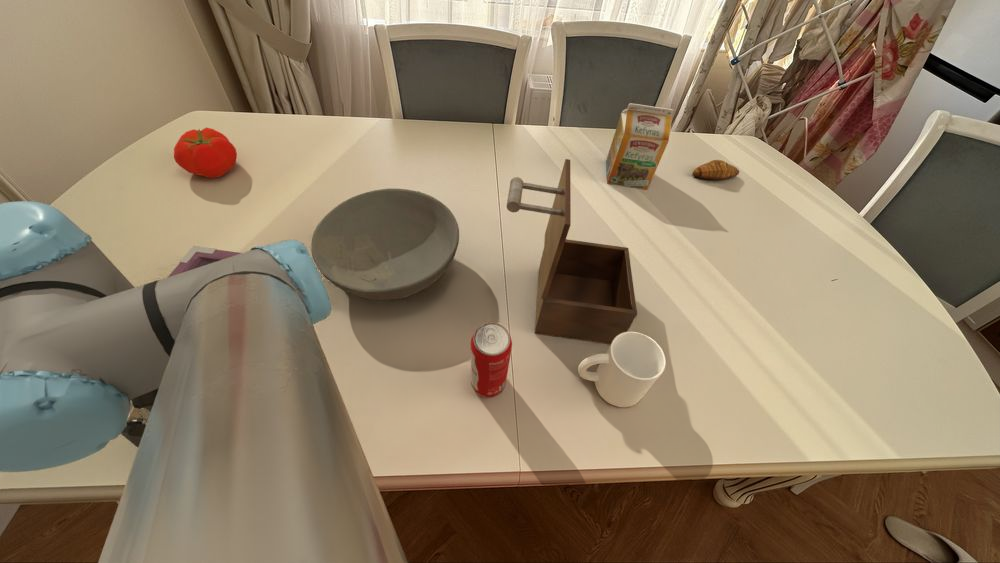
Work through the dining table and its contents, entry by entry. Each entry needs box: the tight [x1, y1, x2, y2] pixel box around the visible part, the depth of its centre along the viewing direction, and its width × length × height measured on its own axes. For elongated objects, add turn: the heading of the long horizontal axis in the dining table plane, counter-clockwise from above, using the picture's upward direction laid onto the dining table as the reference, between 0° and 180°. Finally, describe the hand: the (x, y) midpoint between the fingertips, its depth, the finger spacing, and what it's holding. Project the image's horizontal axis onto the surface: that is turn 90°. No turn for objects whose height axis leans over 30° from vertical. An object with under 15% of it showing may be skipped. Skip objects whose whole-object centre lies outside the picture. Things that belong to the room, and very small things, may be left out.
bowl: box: [310, 188, 460, 301], centre depth 78 cm, size 26×26×10 cm
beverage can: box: [470, 322, 513, 398], centre depth 61 cm, size 6×6×15 cm
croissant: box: [692, 159, 740, 181], centre depth 111 cm, size 14×7×5 cm, turn 98°
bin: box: [534, 238, 638, 345], centre depth 75 cm, size 16×16×10 cm
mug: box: [577, 331, 666, 408], centre depth 65 cm, size 12×8×10 cm
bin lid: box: [506, 158, 572, 299], centre depth 65 cm, size 16×16×9 cm
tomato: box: [173, 127, 238, 179], centre depth 94 cm, size 13×12×8 cm
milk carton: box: [605, 102, 674, 191], centre depth 102 cm, size 11×11×19 cm
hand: (225, 428), depth 58 cm, fingers closed on can, 6 cm apart
